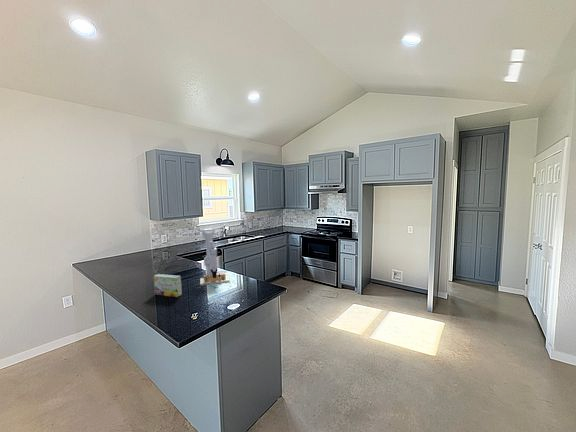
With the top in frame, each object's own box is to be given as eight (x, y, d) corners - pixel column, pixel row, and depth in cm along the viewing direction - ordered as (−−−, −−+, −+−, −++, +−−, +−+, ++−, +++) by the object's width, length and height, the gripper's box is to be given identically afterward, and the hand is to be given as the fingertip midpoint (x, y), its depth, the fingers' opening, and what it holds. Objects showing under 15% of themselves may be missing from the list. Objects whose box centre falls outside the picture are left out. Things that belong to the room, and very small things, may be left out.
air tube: (225, 277, 234) (225, 272, 234) (225, 278, 230) (225, 273, 230) (204, 279, 229) (203, 275, 228) (204, 281, 225) (203, 276, 225)
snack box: (154, 295, 200) (153, 275, 199) (160, 292, 206) (158, 273, 205) (177, 297, 194) (176, 277, 193) (182, 294, 199) (181, 275, 198)
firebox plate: (200, 279, 233) (200, 274, 233) (227, 276, 241) (227, 271, 241) (200, 285, 218) (199, 280, 218) (229, 281, 226) (229, 276, 225)
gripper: (208, 260, 234) (209, 275, 235) (209, 264, 220) (210, 280, 221) (216, 259, 236) (217, 274, 237) (217, 263, 222) (218, 279, 223)
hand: (214, 277), depth 229 cm, fingers closed on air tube, 4 cm apart
